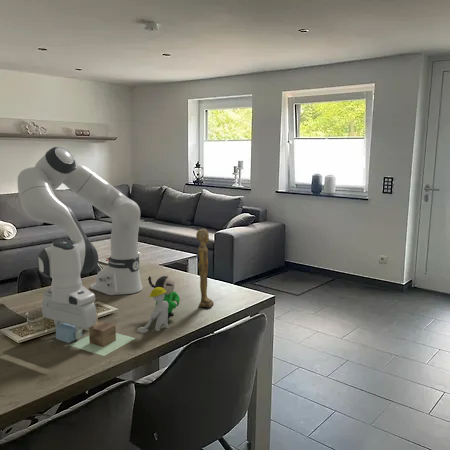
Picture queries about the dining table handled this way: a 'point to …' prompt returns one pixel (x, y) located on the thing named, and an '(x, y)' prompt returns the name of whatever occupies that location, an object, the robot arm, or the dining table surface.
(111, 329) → the walnut brick
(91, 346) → the plate
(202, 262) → the sculpture
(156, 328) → the figurine
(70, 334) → the blue brick
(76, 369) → the dining table surface
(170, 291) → the toy
